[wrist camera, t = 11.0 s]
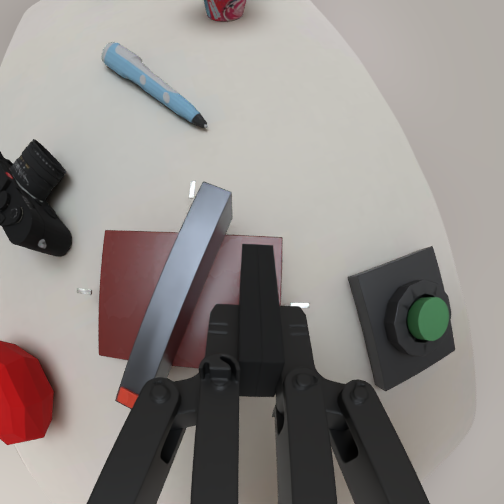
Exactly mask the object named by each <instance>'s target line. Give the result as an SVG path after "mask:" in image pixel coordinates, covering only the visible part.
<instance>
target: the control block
mask: <svg viewBox="0 0 504 504" xmlns="http://www.w3.org/2000/svg"><path fill="white" fill-rule="evenodd" d="M348 279H349V283H350V286H351V290H352V293H353V297H354V300H355V304H356V307H357V311H358V315H359V318H360V322H361V326H362V330H363V334H364V338H365V342H366V346H367V350H368V354H369V358H370V363H371V367H372V371H373V376H374V381H375V385H376V386H378V387H379V388H381V389H383V390H385V391H387V390H389V389H391V388H393V387H395V386H397V385H398V384H400V383H402V382H404V381H406V380H408V379H409V378H411V377H413V376H415V375H416V374H418V373H420V372H421V371H423V370H425V369H426V368H428V367H430V366H431V365H433V364H435V363H436V362H438V361H439V360H441V359H442V358H444V357H445V356H447V355H449V354H450V353H451V352H453V351H454V350H455V345H454V338H453V332H452V326H451V320H450V319H451V309H450V304H449V299H448V295H447V294H446V293H445V291H444V287H443V283H442V278H441V275H440V271H439V267H438V263H437V260H436V256H435V253H434V249H433V246H431V247H428V248H425V249H421V250H418V251H416V252H413V253H411V254H408V255H406V256H403V257H401V258H398V259H396V260H393V261H390V262H388V263H385V264H382V265H380V266H377V267H374V268H372V269H369V270H366V271H364V272H361V273H358V274H355V275H353V276H350V277H348ZM426 297H438V298H440V299H442V300H443V301H444V302H445V303H446V305H447V307H448V311H449V322H448V326H447V329H446V331H445V332H444V334H443V335H442V336H441V337H440V338H439V339H437V340H434V341H428V340H422V339H417V338H415V337H414V336H413V335H412V334H411V333H410V331H409V329H408V325H407V317H408V312H409V310H410V307H411V306H412V304H413V303H414V302H415V301H416V300H418V299H420V298H426Z"/></svg>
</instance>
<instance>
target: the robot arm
mask: <svg viewBox="0 0 504 504" xmlns="http://www.w3.org/2000/svg"><path fill="white" fill-rule="evenodd" d="M307 326H308V325H307V319H306V315H305V314H304V312H303V311H302V309H301V308H300V306H280V305H279V295H278V286H277V276H276V267H275V258H274V250H273V245H260V244H242V255H241V273H240V293H239V305H231V304H216V305H215V306H214V308H213V309H212V311H211V312H210V318H209V326H208V334H207V343H206V351H205V358H204V359H203V360H202V361H201V362H200V365H199V373H198V374H197V375H195V376H194V377H192V378H189V379H186V380H181V381H175V382H173V381H171V380H170V379H168V378H163V377H157V378H153V379H151V380H149V381H147V382H146V384H145V385H144V386H143V388H142V389H141V391H140V393H139V395H138V397H137V399H136V401H135V403H134V405H133V407H132V409H131V411H130V413H129V415H128V417H127V419H126V421H125V423H124V425H123V427H122V429H121V431H120V433H119V436H118V438H117V440H116V442H115V444H114V446H113V448H112V450H111V452H110V454H109V456H108V458H107V461H106V463H105V465H104V467H103V469H102V471H101V473H100V476H99V478H98V480H97V482H96V484H95V486H94V489H93V491H92V493H91V495H90V498H89V500H88V502H87V504H156V503H157V501H158V498H159V496H160V493H161V491H162V488H163V486H164V483H165V481H166V478H167V476H168V473H169V471H170V468H171V466H172V463H173V461H174V458H175V455H176V453H177V450H178V448H179V445H180V443H181V440H182V438H183V435H184V433H185V430H186V428H187V427H191V426H195V425H196V432H195V444H194V457H193V471H192V486H191V504H238V463H239V396H248V397H274V396H275V393H276V405H275V407H274V410H273V414H272V417H275V432H276V455H277V480H278V504H337V495H336V485H335V476H334V467H333V458H332V450H331V447H332V449H333V452H334V454H335V457H336V459H337V461H338V464H339V466H340V469H341V471H342V474H343V476H344V479H345V481H346V483H347V486H348V488H349V491H350V493H351V496H352V498H353V500H354V503H355V504H430V503H429V501H428V499H427V496H426V494H425V492H424V490H423V487H422V485H421V483H420V481H419V479H418V476H417V474H416V472H415V470H414V468H413V466H412V464H411V462H410V460H409V457H408V455H407V453H406V451H405V449H404V447H403V445H402V443H401V441H400V439H399V437H398V435H397V433H396V431H395V429H394V427H393V425H392V423H391V421H390V419H389V417H388V415H387V413H386V411H385V409H384V407H383V405H382V403H381V401H380V399H379V398H378V396H377V394H376V392H375V390H374V388H373V387H372V386H371V385H370V384H369V383H367V382H366V381H363V380H352V381H350V382H348V383H347V384H341V383H337V382H333V381H330V380H327V379H325V378H324V377H322V376H321V375H320V374H319V373H318V372H317V370H316V368H315V365H314V360H313V354H312V348H311V342H310V336H309V331H308V327H307Z"/></svg>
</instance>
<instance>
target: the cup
mask: <svg viewBox="0 0 504 504" xmlns="http://www.w3.org/2000/svg"><path fill="white" fill-rule="evenodd" d="M204 4H205V8H206V12H207V16H208V17H209V18H210V19H212V20H215V21H232V20H236V19H238V18H240V17H241V16H242V15H243V12H244V8H245V4H246V0H204Z"/></svg>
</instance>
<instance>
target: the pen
mask: <svg viewBox="0 0 504 504" xmlns="http://www.w3.org/2000/svg"><path fill="white" fill-rule="evenodd" d="M102 61H103V62H104V63H105V64H106V65H107V66H108V67H110V68H111V69H112V70H114V71H115V72H116V73H118V74H119V75H120V76H122V77H123V78H128V79H129V80H131V81H132V82H134V83H136V84H137V85H139V86H140V87H141V88H142V89H143V90H144V91H146V92H147V93H149V94H150V95H151V96H153V97H154V98H156V99H157V100H159V101H160V102H161V103H163V104H164V105H165V106H167V107H168V108H170V109H171V110H172V111H174V112H175V113H176V114H178V115H179V116H181V117H183V118H185V119H186V120H188V121H189V122H191V123H194V124H196V125H198V126H200V127H202V128H204V127H206V128H207V127H208V126H207V122H206V121H205V120H204V118H203V117H202V115H201V114H200V113H199V112H198V111H197V110H196V108H195V107H194V106H193V105H192V104H191V103H190V102H188V101H187V100H186V99H185V98H184V97H182V96H181V95H180V94H179V93H178V92H176V91H175V90H174V89H173V88H171V87H170V86H169V85H168V84H167V83H165V82H164V81H163V80H162V79H160V78H159V77H158V76H157V75H155V74H154V73H153V72H152V71H151V70H149V69H148V68H147V67H146V66H145V65H144V64H143V63H142V59H141V58H140V57H139V56H138V55H136V54H135V53H133V52H131V51H130V50H128V49H127V48H125V47H124V46H122V45H120V44H119V43H115V42H111V43H108V44H107V45H106V46H105V47H104V49H103V52H102Z"/></svg>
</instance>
